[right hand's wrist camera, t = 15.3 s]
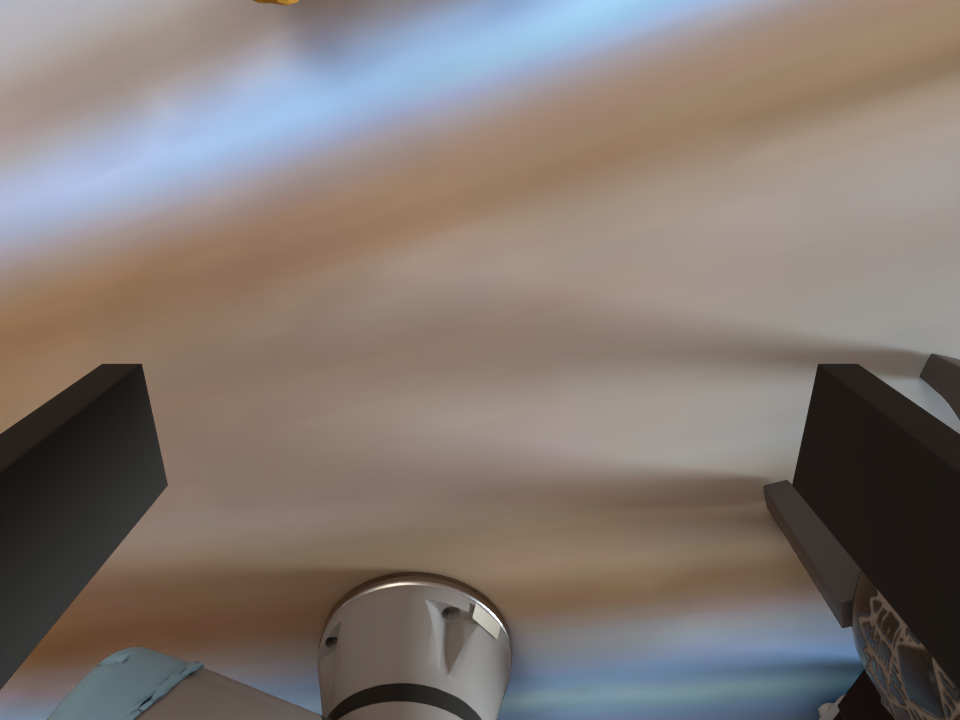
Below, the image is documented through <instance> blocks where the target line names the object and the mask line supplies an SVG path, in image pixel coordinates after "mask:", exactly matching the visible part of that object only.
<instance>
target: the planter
mask: <svg viewBox="0 0 960 720" xmlns="http://www.w3.org/2000/svg"><path fill="white" fill-rule="evenodd" d="M920 377H921V378H922V379H923V380H924V381H925V382H927V383H928V384H929V385H930V386H931V387H932V388H933V389H934V390H936V391H937V392H938V393H939V394H940V395H941V396H942V397H943V398H944V399H945V400H946V401H947V402H948V404H949V405H950V406H951V408H952V409H953V411H954V412H955V414H956V415H957V417H958V418H959V420H960V360H959V359H955V358H951V357H946V356H941V355H937V354H931V355H930V357H929V359H928V361H927V363H926V365H925V367H924V369H923V371H922V373H921V375H920ZM764 492H765V497H766V503H767V508H768V509H769V511H770V513H771V514H772V516H773V517H774V519H775V521H776V522H777V524H778V525H779V527H780V529H781V530H782V532H783V534H784V535H785V537H786V538H787V540H788V542H789V543H790V545H791V546H792V548H793V550H794V551H795V553H796V554H797V556H798V558H799V559H800V561H801V563H802V564H803V566H804V567H805V569H806V571H807V572H808V574H809V575H810V577H811V579H812V580H813V582H814V583H815V585H816V587H817V588H818V590H819V591H820V593H821V595H822V596H823V598H824V600H825V601H826V603H827V604H828V606H829V608H830V609H831V611H832V612H833V614H834V616H835V617H836V619H837V621H838V622H839V624H840V625H841V627H842V628H845V627H850V626H852V630H853V636H854V642H855V646H856V650H857V652H858V654H859V657H860V659H861V662H862V664H863V667H864V669H865V671H866V673H867V674H868V676H869V678H870V679H871V681H872V682H873V684H874V686H875V687H876V689H877V691H878V692H879V694H880V696H881V697H882V699H883V700H884V702H885V704H886V705H887V707H888V709H889V710H890V712H891V714H892V715H893V717H894V718H895V720H960V690H959V689H958V687H957V686H956V685H955V684H954V683H953V681H952V680H951V679H950V678H949V676H948V675H947V674H946V673H945V672H944V670H943V669H942V668H941V667H940V665H939V664H938V663H937V662H936V661H935V659H934V658H933V657H932V656H931V654H930V653H929V652H928V651H927V650H926V648H925V647H924V646H923V645H922V643H921V642H920V641H919V640H918V639H917V637H916V636H915V635H914V634H913V632H912V631H911V630H910V629H909V628H908V626H907V625H906V624H905V623H904V621H903V620H902V619H901V618H900V617H899V615H898V614H897V613H896V612H895V610H894V609H893V608H892V607H891V606H890V604H889V603H888V602H887V601H886V599H885V598H884V597H883V596H882V595H881V593H880V592H879V591H878V590H877V588H876V587H875V586H874V585H873V583H872V582H871V581H870V580H869V579H868V577H867V576H866V575H865V574H864V572H863V571H862V570H861V569H860V568H859V566H858V565H857V564H856V563H855V561H854V560H853V559H852V558H851V557H850V555H849V554H848V553H847V552H846V550H845V549H844V548H843V547H842V546H841V544H840V543H839V542H838V541H837V539H836V538H835V537H834V536H833V535H832V533H831V532H830V531H829V530H828V528H827V527H826V526H825V525H824V524H823V522H822V521H821V520H820V519H819V517H818V516H817V515H816V514H815V513H814V511H813V510H812V509H811V508H810V506H809V505H808V504H807V503H806V502H805V500H804V499H803V498H802V497H801V495H800V494H799V493H798V492H797V491H796V489H795V488H794V487H793V486H792V484H791V483H790V482H789V481H788V480H785V481H781V482H777V483H773V484H769V485H765V486H764Z"/></svg>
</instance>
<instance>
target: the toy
mask: <svg viewBox="0 0 960 720" xmlns="http://www.w3.org/2000/svg"><path fill="white" fill-rule="evenodd" d="M254 1H256V2H258V3H274V4H280V5H290V4H293V3H296V2H298V1H299V0H254Z"/></svg>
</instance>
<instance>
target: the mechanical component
mask: <svg viewBox="0 0 960 720" xmlns="http://www.w3.org/2000/svg"><path fill="white" fill-rule="evenodd" d="M818 711H819V715H820V717H821V718H820V719H819V720H895V718H894V717H893V715H892V714H891V712H890V710H889V709H888V707H887V705H886V704H885V702H884V700H883V699H882V697H881V696H880V694H879V692H878V691H877V689H876V687H875V686H874V684H873V682H872V681H871V679H870V678H869V676H868V674H867V673H866V671H865V669H864V671H863V672H862V673H861V675H860V676H859V677H858V679H857V680H856V681H855V683H854V684H853V685H852V687H851V688H850V689H849V691H848V692H847V693H846V694H844V695H843V696H841V697H840V698H839V699H838V700H837V701H836V702H835V703H825V704H823V705H821V706H820V707H819V708H818Z"/></svg>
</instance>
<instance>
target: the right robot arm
mask: <svg viewBox="0 0 960 720" xmlns="http://www.w3.org/2000/svg"><path fill="white" fill-rule="evenodd" d="M167 486H168V484H167V479H166V475H165V470H164V465H163V461H162V456H161V451H160V447H159V442H158V437H157V433H156V428H155V423H154V419H153V414H152V409H151V405H150V400H149V395H148V391H147V386H146V381H145V377H144V372H143V367H142V364H101V365H100V366H99V367H97V368H96V369H94V370H93V371H91V372H90V373H88V374H87V375H86V376H84V377H83V378H81V379H80V380H78V381H77V382H75V383H74V384H72V385H71V386H70V387H68V388H67V389H65V390H64V391H62V392H61V393H59V394H58V395H57V396H55V397H54V398H52V399H51V400H49V401H48V402H46V403H45V404H43V405H42V406H41V407H39V408H38V409H36V410H35V411H33V412H32V413H30V414H29V415H28V416H26V417H25V418H23V419H22V420H20V421H19V422H17V423H16V424H14V425H13V426H12V427H10V428H9V429H7V430H6V431H4V432H3V433H1V434H0V690H1V689H2V687H3V686H4V685H5V684H6V683H7V681H8V680H9V679H10V678H11V676H12V675H13V674H14V673H15V672H16V670H17V669H18V668H19V667H20V665H21V664H22V663H23V662H24V661H25V659H26V658H27V657H28V656H29V654H30V653H31V652H32V651H33V650H34V648H35V647H36V646H37V645H38V643H39V642H40V641H41V640H42V639H43V637H44V636H45V635H46V634H47V632H48V631H49V630H50V629H51V628H52V626H53V625H54V624H55V623H56V621H57V620H58V619H59V618H60V617H61V615H62V614H63V613H64V612H65V610H66V609H67V608H68V607H69V606H70V604H71V603H72V602H73V601H74V599H75V598H76V597H77V596H78V595H79V593H80V592H81V591H82V590H83V588H84V587H85V586H86V585H87V583H88V582H89V581H90V580H91V579H92V577H93V576H94V575H95V574H96V572H97V571H98V570H99V569H100V568H101V566H102V565H103V564H104V563H105V561H106V560H107V559H108V558H109V557H110V555H111V554H112V553H113V552H114V550H115V549H116V548H117V547H118V546H119V544H120V543H121V542H122V541H123V539H124V538H125V537H126V536H127V535H128V533H129V532H130V531H131V530H132V528H133V527H134V526H135V525H136V524H137V522H138V521H139V520H140V519H141V517H142V516H143V515H144V514H145V513H146V511H147V510H148V509H149V508H150V506H151V505H152V504H153V503H154V502H155V500H156V499H157V498H158V497H159V495H160V494H161V493H162V492H163V491H164V489H165V488H166V487H167ZM792 486H793V487H794V488H795V489H796V491H797V492H798V493H799V494H800V495H801V497H802V498H803V499H804V500H805V502H806V503H807V504H808V505H809V506H810V508H811V509H812V510H813V511H814V513H815V514H816V515H817V516H818V517H819V519H820V520H821V521H822V522H823V524H824V525H825V526H826V527H827V528H828V530H829V531H830V532H831V533H832V535H833V536H834V537H835V538H836V539H837V541H838V542H839V543H840V544H841V546H842V547H843V548H844V549H845V550H846V552H847V553H848V554H849V555H850V557H851V558H852V559H853V560H854V561H855V563H856V564H857V565H858V566H859V568H860V569H861V570H862V571H863V572H864V574H865V575H866V576H867V577H868V579H869V580H870V581H871V582H872V583H873V585H874V586H875V587H876V588H877V590H878V591H879V592H880V593H881V595H882V596H883V597H884V598H885V599H886V601H887V602H888V603H889V604H890V606H891V607H892V608H893V609H894V610H895V612H896V613H897V614H898V615H899V617H900V618H901V619H902V620H903V621H904V623H905V624H906V625H907V626H908V628H909V629H910V630H911V631H912V632H913V634H914V635H915V636H916V637H917V639H918V640H919V641H920V642H921V643H922V645H923V646H924V647H925V648H926V650H927V651H928V652H929V653H930V654H931V656H932V657H933V658H934V659H935V661H936V662H937V663H938V664H939V665H940V667H941V668H942V669H943V670H944V672H945V673H946V674H947V675H948V676H949V678H950V679H951V680H952V681H953V683H954V684H955V685H956V686H957V687H958V689H959V690H960V434H959V433H957V432H956V431H954V430H953V429H951V428H950V427H948V426H947V425H946V424H944V423H943V422H941V421H940V420H938V419H937V418H935V417H934V416H932V415H931V414H930V413H928V412H927V411H925V410H924V409H922V408H921V407H919V406H918V405H917V404H915V403H914V402H912V401H911V400H909V399H908V398H906V397H905V396H903V395H902V394H901V393H899V392H898V391H896V390H895V389H893V388H892V387H890V386H889V385H888V384H886V383H885V382H883V381H882V380H880V379H879V378H877V377H876V376H874V375H873V374H872V373H870V372H869V371H867V370H866V369H864V368H863V367H861V366H860V365H859V364H818V367H817V372H816V377H815V381H814V386H813V391H812V395H811V400H810V405H809V409H808V414H807V419H806V423H805V428H804V433H803V437H802V442H801V447H800V451H799V456H798V461H797V465H796V470H795V475H794V479H793V484H792ZM511 665H512V653H511V639H510V634H509V630H508V627H507V624H506V622H505V620H504V618H503V617H502V615H501V613H500V612H499V611H498V609H497V608H496V607H495V605H494V604H493V603H492V602H491V601H490V600H489V599H487V598H486V597H485V596H484V595H483V594H481V593H480V592H478V591H477V590H475V589H474V588H472V587H470V586H468V585H467V584H464V583H462V582H460V581H458V580H455V579H452V578H449V577H445V576H441V575H437V574H431V573H422V572H406V573H396V574H390V575H385V576H381V577H378V578H375V579H372V580H370V581H367V582H365V583H363V584H361V585H359V586H357V587H356V588H354V589H353V590H351V591H350V592H349V593H347V594H346V595H345V596H344V597H343V598H342V599H341V600H340V601H339V602H338V603H337V604H336V605H335V607H334V608H333V609H332V611H331V612H330V614H329V616H328V618H327V620H326V623H325V626H324V630H323V633H322V636H321V640H320V644H319V653H318V673H319V683H320V693H321V704H322V714H323V716H321V715H319V714H317V713H314V712H312V711H309V710H307V709H304V708H302V707H299V706H297V705H294V704H292V703H289V702H287V701H284V700H282V699H279V698H277V697H275V696H272V695H270V694H267V693H265V692H262V691H260V690H257V689H255V688H252V687H250V686H247V685H245V684H242V683H240V682H237V681H235V680H232V679H230V678H228V677H225V676H223V675H220V674H218V673H215V672H213V671H210V670H208V669H205V668H204V666H205V665H204V664H203V663H201V662H199V661H195V662H192V663H190V662H187V661H184V660H181V659H178V658H175V657H172V656H169V655H166V654H163V653H160V652H157V651H154V650H151V649H148V648H144V647H130V648H126V649H123V650H120V651H118V652H116V653H113V654H112V655H110V656H109V657H107V658H105V659H104V660H103V661H101V662H100V663H99V664H98V665H97V666H96V667H95V668H93V669H92V670H91V671H90V672H89V673H88V674H87V675H86V676H85V677H84V678H83V679H82V680H81V681H80V683H79V684H78V685H77V686H76V687H75V688H74V689H73V690H72V691H71V692H70V693H69V694H68V695H67V697H66V698H65V699H64V700H63V701H62V702H61V704H60V705H59V706H58V707H57V708H56V709H55V711H54V712H53V713H52V714H51V715H50V716H49V717H48V719H47V720H496V719H497V716H498V713H499V710H500V707H501V704H502V701H503V698H504V695H505V692H506V689H507V686H508V683H509V679H510V672H511Z"/></svg>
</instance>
